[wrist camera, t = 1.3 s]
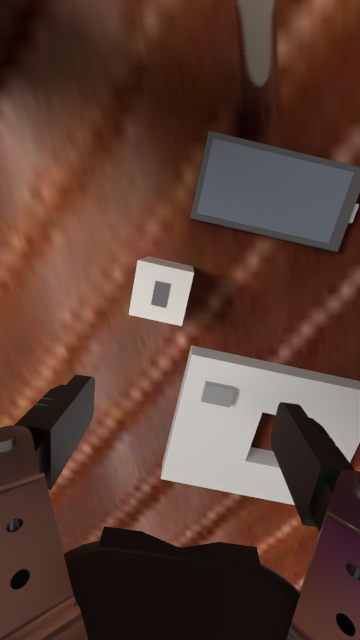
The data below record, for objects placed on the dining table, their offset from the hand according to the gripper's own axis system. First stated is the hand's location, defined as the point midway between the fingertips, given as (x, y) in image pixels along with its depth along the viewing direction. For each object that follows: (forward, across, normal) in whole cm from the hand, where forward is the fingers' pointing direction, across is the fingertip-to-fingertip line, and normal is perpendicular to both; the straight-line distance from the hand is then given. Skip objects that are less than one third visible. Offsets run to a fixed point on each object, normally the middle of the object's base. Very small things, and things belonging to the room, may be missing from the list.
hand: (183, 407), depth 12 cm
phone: (+17, -6, -12) cm, 22 cm away
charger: (+17, +3, -3) cm, 18 cm away
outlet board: (+18, -10, +12) cm, 24 cm away
